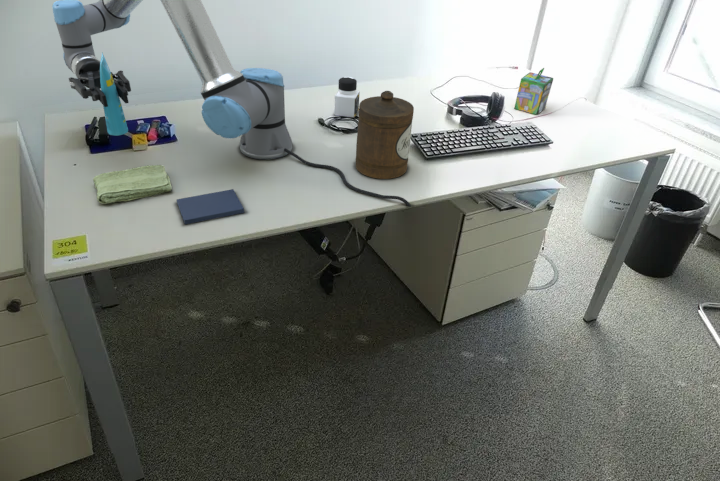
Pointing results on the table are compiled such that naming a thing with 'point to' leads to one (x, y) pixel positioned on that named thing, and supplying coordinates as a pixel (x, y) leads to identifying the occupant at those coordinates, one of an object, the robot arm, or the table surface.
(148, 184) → the washcloth
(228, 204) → the notebook
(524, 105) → the chalk box
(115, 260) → the table surface
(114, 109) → the tube
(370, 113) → the wooden container
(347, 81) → the medicine bottle
